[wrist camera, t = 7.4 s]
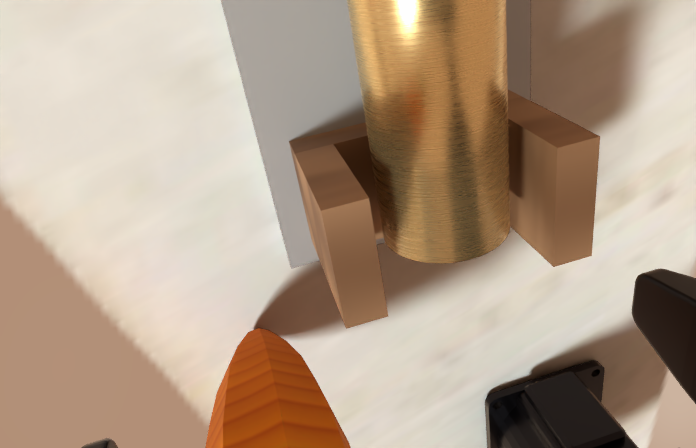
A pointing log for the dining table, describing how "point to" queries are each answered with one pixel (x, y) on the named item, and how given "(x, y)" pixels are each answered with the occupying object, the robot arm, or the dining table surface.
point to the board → (318, 86)
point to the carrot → (271, 400)
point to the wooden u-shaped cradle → (524, 192)
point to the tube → (436, 122)
